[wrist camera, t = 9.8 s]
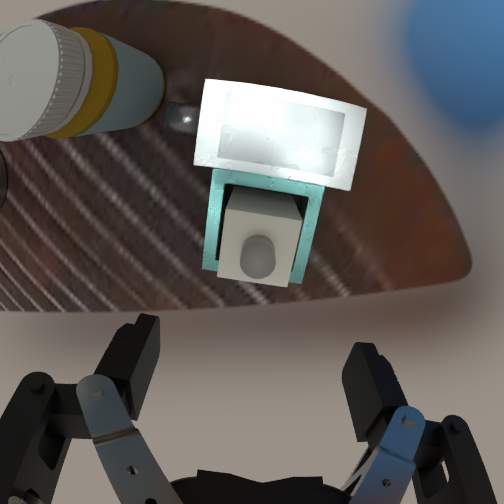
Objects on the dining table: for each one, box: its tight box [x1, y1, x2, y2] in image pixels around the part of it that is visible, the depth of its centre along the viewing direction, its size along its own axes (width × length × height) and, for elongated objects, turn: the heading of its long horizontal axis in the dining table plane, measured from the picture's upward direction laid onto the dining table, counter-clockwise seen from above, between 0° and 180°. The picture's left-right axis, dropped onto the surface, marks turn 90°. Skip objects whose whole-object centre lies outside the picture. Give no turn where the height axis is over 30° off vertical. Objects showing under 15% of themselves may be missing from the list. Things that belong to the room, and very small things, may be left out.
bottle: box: [0, 19, 165, 142], centre depth 16 cm, size 7×7×15 cm
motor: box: [163, 79, 367, 284], centre depth 23 cm, size 13×15×8 cm
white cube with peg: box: [217, 186, 302, 287], centre depth 23 cm, size 5×5×9 cm
